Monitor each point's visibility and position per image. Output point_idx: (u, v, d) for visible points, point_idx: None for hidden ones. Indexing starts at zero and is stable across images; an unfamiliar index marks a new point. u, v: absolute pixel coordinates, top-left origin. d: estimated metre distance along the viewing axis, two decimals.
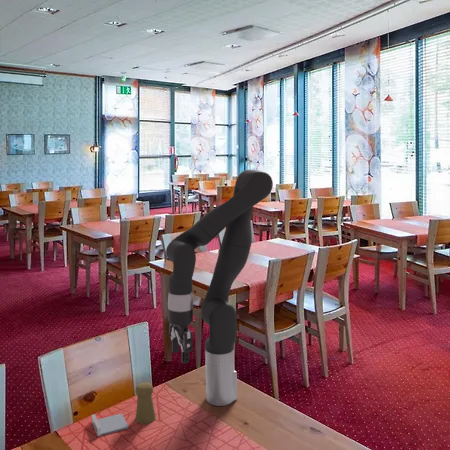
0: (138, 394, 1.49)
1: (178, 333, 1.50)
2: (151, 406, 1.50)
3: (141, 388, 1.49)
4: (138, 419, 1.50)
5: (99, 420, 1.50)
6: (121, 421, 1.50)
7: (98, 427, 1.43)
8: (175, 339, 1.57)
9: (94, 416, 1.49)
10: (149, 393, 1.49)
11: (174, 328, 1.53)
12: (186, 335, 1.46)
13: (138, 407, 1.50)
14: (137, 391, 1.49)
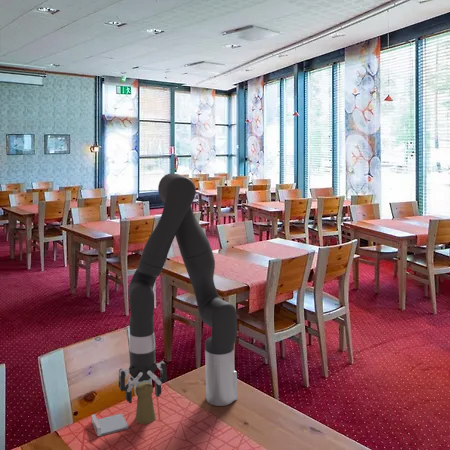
0: (138, 394, 1.49)
1: (151, 372, 1.49)
2: (151, 406, 1.50)
3: (141, 388, 1.49)
4: (138, 419, 1.50)
5: (99, 420, 1.50)
6: (121, 421, 1.50)
7: (98, 427, 1.43)
8: None
9: (94, 416, 1.49)
10: (149, 393, 1.49)
11: (141, 372, 1.47)
12: None
13: (138, 407, 1.50)
14: (137, 391, 1.49)
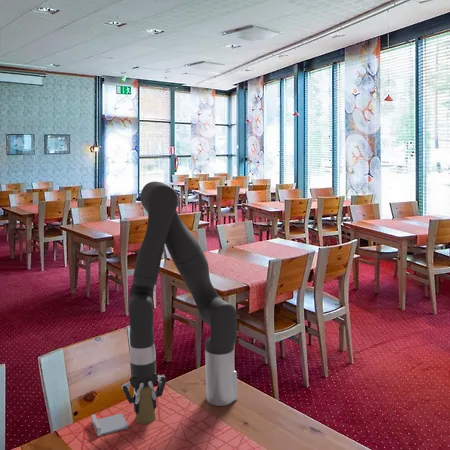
0: None
1: None
2: (151, 406, 1.50)
3: None
4: (138, 419, 1.50)
5: (99, 420, 1.50)
6: (121, 421, 1.50)
7: (98, 427, 1.43)
8: None
9: (94, 416, 1.49)
10: (149, 393, 1.49)
11: (142, 382, 1.48)
12: None
13: None
14: None
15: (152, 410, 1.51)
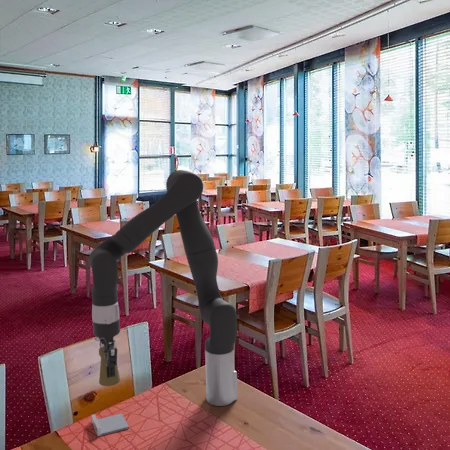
0: None
1: None
2: None
3: None
4: (116, 380, 1.44)
5: (99, 420, 1.50)
6: (121, 421, 1.50)
7: (98, 427, 1.43)
8: None
9: (94, 416, 1.49)
10: None
11: None
12: None
13: None
14: None
15: None
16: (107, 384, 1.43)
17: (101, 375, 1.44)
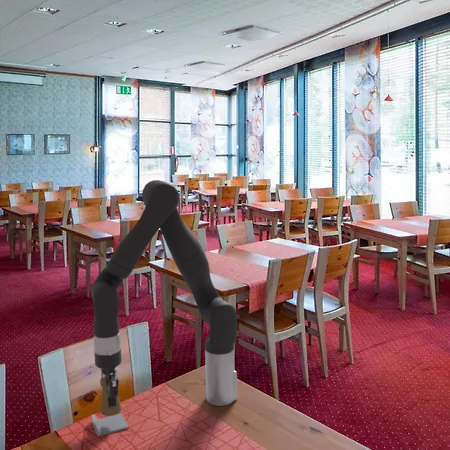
0: None
1: None
2: None
3: None
4: (117, 410, 1.46)
5: (99, 420, 1.50)
6: (121, 421, 1.50)
7: (98, 427, 1.43)
8: None
9: (94, 416, 1.49)
10: None
11: None
12: None
13: None
14: None
15: None
16: (108, 414, 1.45)
17: (102, 405, 1.46)
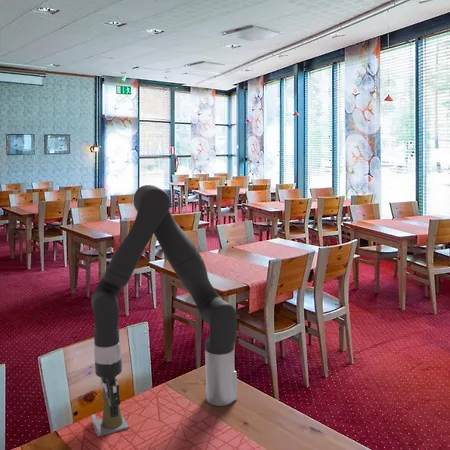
0: None
1: None
2: None
3: None
4: (118, 423, 1.47)
5: (99, 420, 1.50)
6: None
7: (98, 427, 1.43)
8: None
9: (94, 416, 1.49)
10: None
11: None
12: None
13: None
14: None
15: None
16: (110, 427, 1.46)
17: (104, 418, 1.46)
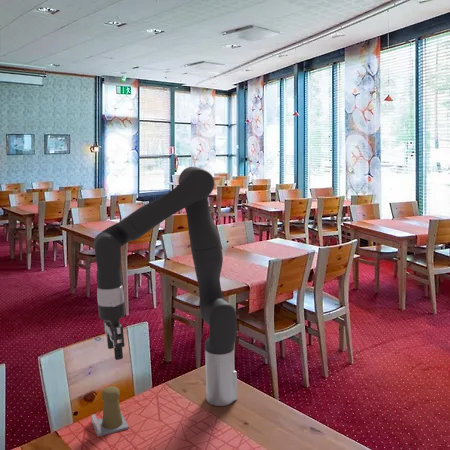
0: (116, 397, 1.46)
1: None
2: None
3: (115, 390, 1.46)
4: (118, 423, 1.47)
5: (99, 420, 1.50)
6: None
7: (98, 427, 1.43)
8: None
9: (94, 416, 1.49)
10: None
11: None
12: None
13: (116, 412, 1.46)
14: (115, 395, 1.45)
15: None
16: (110, 427, 1.46)
17: (104, 418, 1.46)
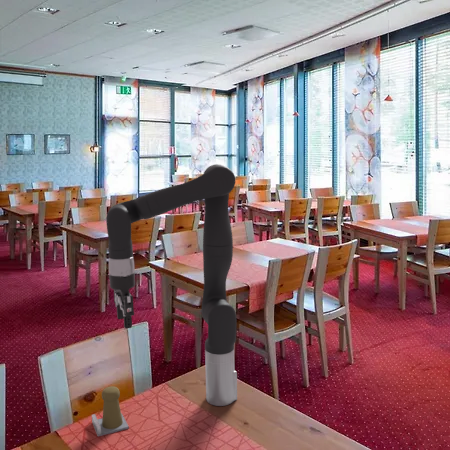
0: (116, 397, 1.46)
1: None
2: None
3: (115, 390, 1.46)
4: (118, 423, 1.47)
5: (99, 420, 1.50)
6: None
7: (98, 427, 1.43)
8: None
9: (94, 416, 1.49)
10: None
11: None
12: None
13: (116, 412, 1.46)
14: (115, 395, 1.45)
15: None
16: (110, 427, 1.46)
17: (104, 418, 1.46)
